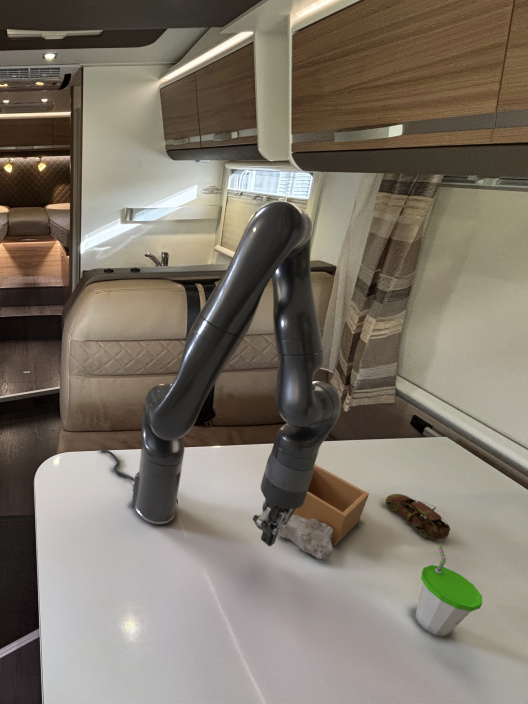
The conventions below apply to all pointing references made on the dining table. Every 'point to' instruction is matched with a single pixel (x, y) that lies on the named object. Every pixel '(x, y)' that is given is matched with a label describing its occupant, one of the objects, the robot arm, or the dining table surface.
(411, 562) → the dining table surface
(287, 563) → the dining table surface
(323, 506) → the box
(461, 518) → the dining table surface
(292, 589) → the dining table surface
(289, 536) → the stone
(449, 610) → the cup
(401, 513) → the toy car
